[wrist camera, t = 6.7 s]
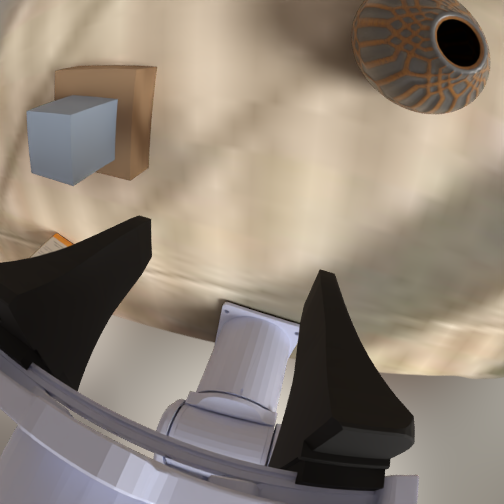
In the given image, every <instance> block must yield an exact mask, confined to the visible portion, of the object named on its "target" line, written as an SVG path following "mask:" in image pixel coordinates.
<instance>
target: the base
mask: <svg viewBox="0 0 504 504" xmlns="http://www.w3.org/2000/svg"><path fill="white" fill-rule="evenodd" d="M156 71H157V67H149V66H120V65H103V66H77V67H71V68H66V69H62V70H57V71H55V101H56V100H59V99H62V98H65V97H68V96H71V95H78V96H91V97H102V98H111V99H118V102H117V116H116V135H115V160H113V161H112V162H110V163H108V164H107V165H105V166H104V167H102V168H100V169H99V170H97V171H96V172H97V173H102V174H106V175H110V176H114V177H118V178H122V179H126V180H130V181H131V180H132V179H133V178H135V177H136V176H138V175H139V174H140V173H142V172H143V171H145V170H146V169H147V168H149V147H150V131H151V118H152V107H153V97H154V87H155V79H156Z"/></svg>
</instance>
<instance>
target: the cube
mask: <svg viewBox="0 0 504 504" xmlns="http://www.w3.org/2000/svg"><path fill="white" fill-rule="evenodd" d="M117 102H118V99H111V98H102V97H91V96H78V95H71V96H68V97H65V98H62V99H59V100H56V101H53V102H50V103H47V104H44V105H41V106H39V107H36V108H33V109H31V110H28V111H27V129H28V144H29V155H30V164H31V172H32V173H33V174H37V175H40V176H43V177H46V178H49V179H53V180H56V181H59V182H62V183H65V184H69V185H72V186H74V185H76V184H77V183H79V182H80V181H82V180H83V179H85V178H86V177H88V176H89V175H91V174H92V173H94V172H96V171H97V170H99V169H100V168H102V167H104V166H105V165H107V164H108V163H110V162H112V161H113V160H115V135H116V116H117Z"/></svg>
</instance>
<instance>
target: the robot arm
mask: <svg viewBox="0 0 504 504" xmlns="http://www.w3.org/2000/svg"><path fill="white" fill-rule="evenodd" d="M151 257H152V246H151V219H149V218H146V217H142V216H136V217H134V218H131V219H129V220H127V221H125V222H122V223H120V224H118V225H116V226H114V227H112V228H110V229H107V230H105V231H103V232H101V233H99V234H97V235H94V236H92V237H90V238H88V239H85V240H83V241H81V242H78V243H76V244H73V245H71V246H68V247H65V248H63V249H60V250H57V251H54V252H50V253H47V254H43V255H40V256H36V257H32V258H27V259H22V260H17V261H11V262H3V263H0V409H1V410H2V411H3V412H5V413H6V414H7V415H8V416H9V417H10V418H11V419H12V420H13V421H15V422H16V423H17V424H18V426H17V427H16V429H15V431H14V433H13V434H12V436H11V438H10V440H9V442H8V443H7V445H6V447H5V449H4V451H3V453H2V455H1V457H0V504H417V497H418V481H419V476H418V475H391V476H385V469H388V468H389V467H390V459H391V458H393V457H395V456H397V455H399V454H401V453H403V452H405V451H406V450H408V449H409V448H410V447H411V446H412V445H413V444H414V437H415V436H414V435H415V430H414V429H415V426H414V416H413V415H412V414H411V413H410V412H409V410H408V409H407V408H406V407H405V406H404V405H403V404H402V403H401V401H400V400H399V399H398V398H397V397H396V396H395V394H394V393H393V392H392V391H391V389H390V388H389V387H388V385H387V384H386V382H385V381H384V380H383V378H382V377H381V375H380V374H379V372H378V371H377V369H376V367H375V366H374V364H373V363H372V361H371V359H370V358H369V356H368V354H367V352H366V351H365V349H364V347H363V345H362V343H361V341H360V339H359V337H358V335H357V333H356V330H355V328H354V326H353V323H352V321H351V319H350V316H349V313H348V311H347V308H346V306H345V303H344V300H343V297H342V294H341V291H340V288H339V285H338V282H337V279H336V276H335V274H334V273H330V272H327V271H324V270H319V272H318V275H317V277H316V279H315V282H314V284H313V286H312V288H311V291H310V293H309V295H308V297H307V300H306V302H305V304H304V308H303V313H302V317H301V322H300V324H296V323H293V322H290V321H286V320H283V319H280V318H276V317H273V316H270V315H267V314H264V313H260V312H257V311H254V310H251V309H248V308H245V307H242V306H239V305H236V304H233V303H230V302H225V303H224V304H223V306H222V311H221V316H220V321H219V326H218V331H217V336H216V341H215V346H214V349H213V352H212V354H211V357H210V359H209V361H208V364H207V366H206V369H205V371H204V374H203V376H202V379H201V381H200V384H199V386H198V388H197V391H196V392H192V391H190V392H189V395H188V397H187V399H186V400H183V399H179V400H177V401H176V402H174V403H172V404H171V405H169V406H168V408H167V409H166V411H165V412H164V413H163V415H162V417H161V419H160V421H159V424H158V427H157V430H156V431H154V430H152V429H150V428H147V427H145V426H143V425H141V424H138V423H136V422H134V421H132V420H130V419H128V418H126V417H124V416H122V415H120V414H118V413H116V412H113V411H112V410H110V409H108V408H106V407H104V406H102V405H100V404H98V403H96V402H95V401H93V400H91V399H89V398H88V397H86V396H84V395H82V394H81V393H79V392H77V391H78V388H79V385H80V382H81V379H82V376H83V374H84V371H85V368H86V366H87V363H88V361H89V359H90V356H91V354H92V351H93V349H94V347H95V345H96V343H97V341H98V339H99V337H100V335H101V333H102V331H103V329H104V328H105V326H106V324H107V322H108V320H109V319H110V317H111V315H112V314H113V312H114V311H115V309H116V308H117V307H118V305H119V304H120V303H121V301H122V300H123V299H124V297H125V296H126V295H127V293H128V292H129V291H130V289H131V288H132V287H133V285H134V284H135V283H136V281H137V280H138V279H139V277H140V276H141V275H142V273H143V271H144V270H145V268H146V266H147V264H148V263H149V261H150V259H151ZM227 310H228V311H227ZM297 342H298V345H297V354H296V362H295V371H294V377H293V383H292V387H291V391H290V395H289V399H288V403H287V407H286V410H285V414H284V417H283V421H282V424H276V426H275V422H276V418H277V413H276V409H277V405H278V400H279V396H280V392H281V387H282V383H283V378H284V374H285V369H286V364H287V360H288V358H289V356H290V354H291V353H292V351H293V349H294V348H295V346H296V344H297ZM57 401H58V402H59V403H58V402H57ZM60 403H61V404H62V405H64V406H66V407H67V408H69V409H70V410H72V411H74V412H75V413H77V414H79V415H80V416H82V417H84V418H85V419H87V420H89V421H91V422H92V423H94V424H96V425H98V426H99V427H101V428H103V429H105V430H107V431H109V432H111V433H113V434H115V435H117V436H119V437H121V438H123V439H125V440H127V441H129V442H131V443H133V444H135V445H137V446H140V447H142V448H144V449H146V450H149V451H151V452H153V453H154V459H151V458H149V457H146V456H145V455H143V454H140V453H139V452H137V451H134V450H132V449H130V448H128V447H126V446H124V445H122V444H120V443H118V442H117V441H115V440H112V439H111V438H109V437H107V436H105V435H103V434H101V433H99V432H98V431H96V430H94V429H92V428H90V427H89V426H87V425H85V424H83V423H82V422H80V421H78V420H76V419H74V417H73V416H72V415H71V414H70V413H69V411H68V410H67V409H66V408H65V407H64V406H62V405H61V404H60ZM274 426H275V430H274ZM273 431H274V432H273Z"/></svg>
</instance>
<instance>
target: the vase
mask: <svg viewBox="0 0 504 504" xmlns="http://www.w3.org/2000/svg"><path fill="white" fill-rule="evenodd" d="M351 40H352V48H353V52H354V56H355V59H356V61H357V64H358V66H359V68H360V70H361V71H362V73H363V75H364V76H365V77H366V79H367V80H368V81H369V83H370V84H371V85H372V86H373V87H374V88H375V89H376V90H377V91H378V92H379V93H380V94H382V95H383V96H384V97H386V98H387V99H389V100H390V101H392V102H393V103H395V104H397V105H399V106H401V107H403V108H406V109H408V110H411V111H414V112H418V113H424V114H444V113H450V112H453V111H456V110H459V109H461V108H463V107H465V106H467V105H468V104H470V103H471V102H472V101H474V100H475V99H476V98H477V97H478V96H479V94H480V93H481V92H482V90H483V88H484V87H485V85H486V82H487V80H488V76H489V71H490V53H489V47H488V44H487V41H486V38H485V35H484V33H483V31H482V29H481V27H480V26H479V24H478V22H477V21H476V20H475V18H474V17H473V16H472V15H471V13H470V12H469V11H468V10H467V9H466V8H465V7H464V6H463V5H462V4H460V3H459V2H458V1H457V0H365V1H364V3H363V4H362V5H361V7H360V8H359V10H358V11H357V13H356V16H355V18H354V22H353V25H352V33H351Z"/></svg>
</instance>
